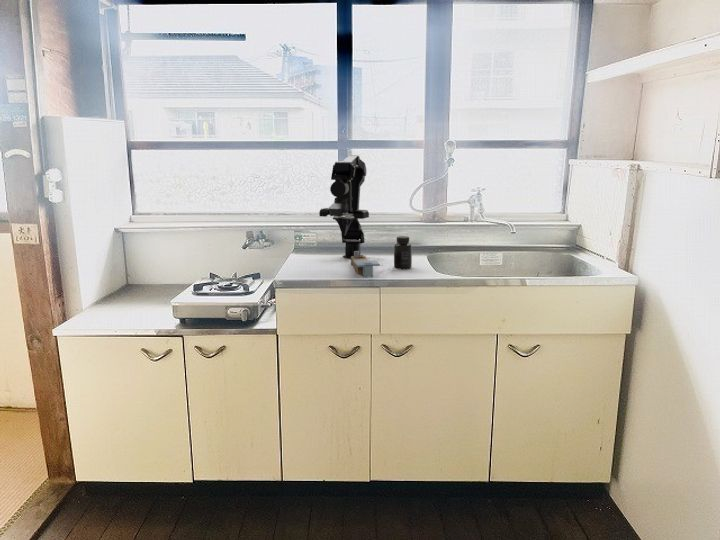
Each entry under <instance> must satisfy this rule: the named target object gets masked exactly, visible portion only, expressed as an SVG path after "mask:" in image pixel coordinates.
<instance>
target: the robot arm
mask: <svg viewBox="0 0 720 540" xmlns="http://www.w3.org/2000/svg"><path fill="white" fill-rule="evenodd" d="M345 157H346V158H344V159H343V160H342V161H341V160H340V161H339V160H336V161H335V162H334V164H333V165H332V172H331V176H330V177H331V178H330V180H331V181H334V182H333V183H331V185H330V189H329V190H330V193H331V195H332V196H334V201H333V203H332V204H331V205H330V206H329V207H324V208H320V210H319V212H318V213H319V217H328V216H330V217H332V220H335V222H336V223H337V225H338V227H339V229H340V232H341V233H340V234H341V243H342V244H345V247H344V255H342V258H347V259H349V258H350V259H351V256H354V251H359V256H364V255H363V254H361V244H365V233H364V231H363V229H362V225H361V223H360V221H359V220H360V219H361V220H364V219H367V218H368V219H369V218H370V213H369V211H368V210H367V209H360V198H361V186H362V185H363V184H364V183H365V178H366V176H367V167H366V163H365V162H364V161H363V160H362V159H361V158H360V155H357V154H349V155H348V154H347V155H346V156H345Z"/></svg>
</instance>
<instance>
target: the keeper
mask: <svg viewBox="0 0 720 540" xmlns="http://www.w3.org/2000/svg"><path fill="white" fill-rule="evenodd" d="M354 264H355V265H356V266H358V267H363V274H362V276H363V275H364V276H365V277H364V276H363V277H364V278H368V277H367V276H373V277H374V267H380V266H381V265H380V264H381V263H379V262H378V261H377V260H375V259H373V260H372V259H370V260H369V259H368V260H365V261H354Z"/></svg>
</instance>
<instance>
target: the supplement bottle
mask: <svg viewBox="0 0 720 540" xmlns="http://www.w3.org/2000/svg"><path fill="white" fill-rule="evenodd" d="M412 252H413V247H412V244H410V237H409V236H407V235H406V236H405V235H403V236H402V235H401V236H400V235H399V236H397V237H396V244H394V245H393V267H394V269H396V270H409V269H411V268H412V267H413V266H412V265H413V264H412V262H413V261H412V259H413V257H412V256H413V254H412Z"/></svg>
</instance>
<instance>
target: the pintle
mask: <svg viewBox="0 0 720 540" xmlns="http://www.w3.org/2000/svg"><path fill="white" fill-rule="evenodd" d="M354 258H355V259H357V258H359V251H354Z"/></svg>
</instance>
